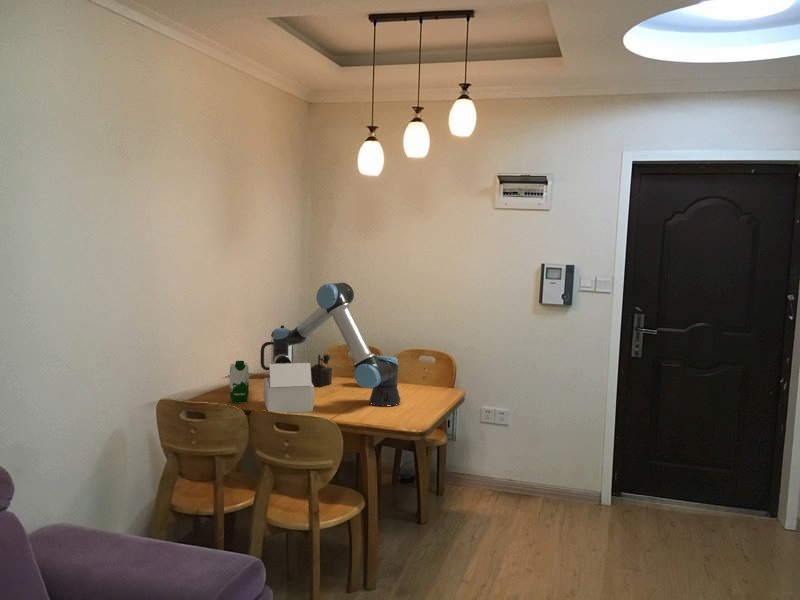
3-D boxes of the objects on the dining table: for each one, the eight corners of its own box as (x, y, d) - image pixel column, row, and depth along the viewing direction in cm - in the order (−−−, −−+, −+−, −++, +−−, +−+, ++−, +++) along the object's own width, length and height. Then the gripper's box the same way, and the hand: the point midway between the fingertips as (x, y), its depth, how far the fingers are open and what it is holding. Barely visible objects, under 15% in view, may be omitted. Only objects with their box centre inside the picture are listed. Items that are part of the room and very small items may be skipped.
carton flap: (269, 364, 303) (269, 363, 303) (310, 363, 308) (310, 362, 308) (270, 387, 299) (270, 387, 298) (311, 386, 304) (311, 385, 303)
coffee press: (274, 373, 388) (275, 322, 386) (299, 376, 383) (300, 324, 381) (259, 379, 372) (260, 326, 369) (285, 382, 367) (286, 328, 364)
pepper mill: (304, 385, 361) (304, 352, 359) (317, 381, 370) (317, 349, 369) (326, 389, 353) (327, 355, 351) (339, 385, 362) (340, 353, 360)
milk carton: (230, 404, 316) (230, 362, 315) (228, 399, 325) (228, 359, 323) (249, 402, 319) (249, 361, 318) (247, 398, 328) (247, 358, 326)
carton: (263, 402, 321) (263, 377, 320) (306, 400, 327) (307, 376, 326) (267, 414, 300) (267, 388, 298) (313, 412, 305) (314, 386, 304)
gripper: (295, 370, 330) (302, 379, 307) (269, 370, 326) (273, 380, 304) (296, 355, 329) (302, 363, 307) (269, 355, 326) (273, 364, 303)
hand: (287, 372), depth 305 cm, fingers closed
